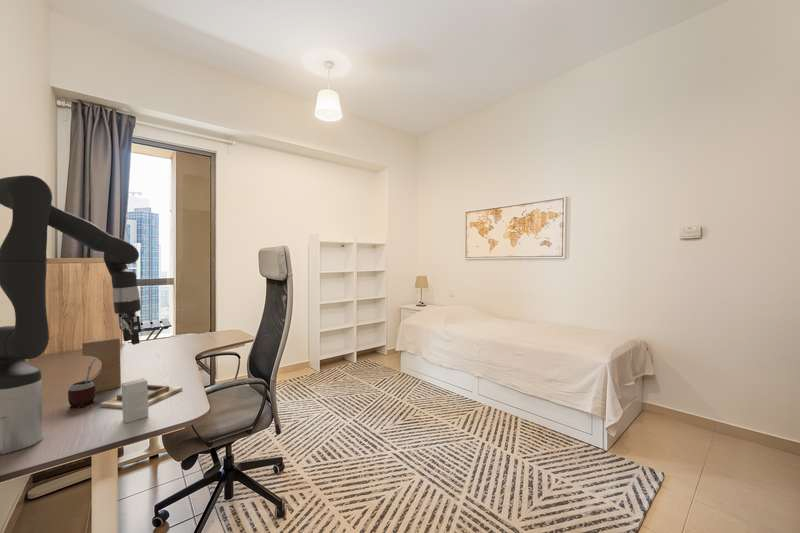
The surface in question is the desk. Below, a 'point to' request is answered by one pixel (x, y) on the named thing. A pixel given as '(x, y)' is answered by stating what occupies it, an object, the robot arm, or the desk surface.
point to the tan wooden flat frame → (153, 395)
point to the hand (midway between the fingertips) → (131, 342)
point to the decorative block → (105, 362)
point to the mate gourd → (82, 392)
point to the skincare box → (135, 400)
